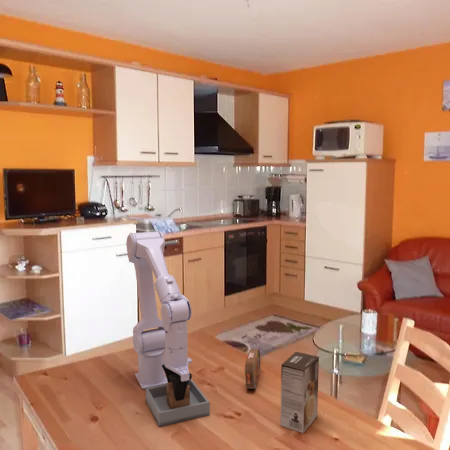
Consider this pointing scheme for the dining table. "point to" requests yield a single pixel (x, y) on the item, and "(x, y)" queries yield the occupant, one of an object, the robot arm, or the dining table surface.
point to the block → (171, 398)
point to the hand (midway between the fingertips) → (176, 395)
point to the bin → (167, 416)
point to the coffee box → (299, 391)
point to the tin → (252, 369)
